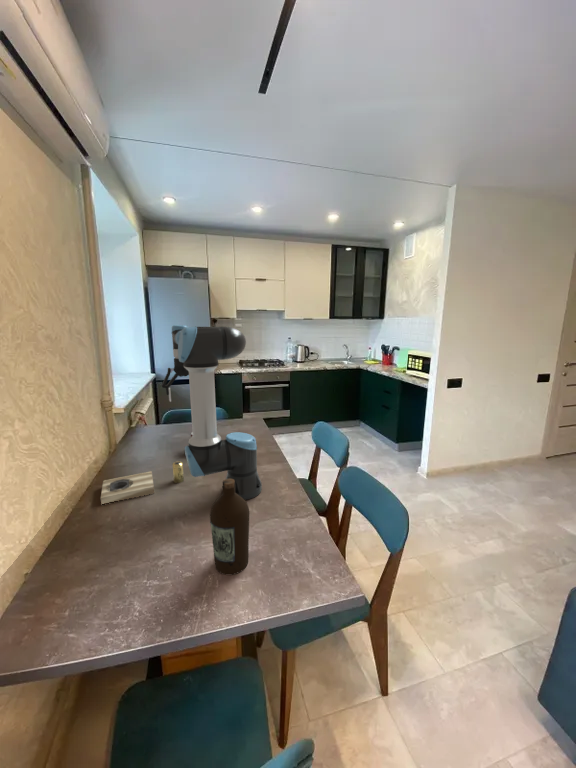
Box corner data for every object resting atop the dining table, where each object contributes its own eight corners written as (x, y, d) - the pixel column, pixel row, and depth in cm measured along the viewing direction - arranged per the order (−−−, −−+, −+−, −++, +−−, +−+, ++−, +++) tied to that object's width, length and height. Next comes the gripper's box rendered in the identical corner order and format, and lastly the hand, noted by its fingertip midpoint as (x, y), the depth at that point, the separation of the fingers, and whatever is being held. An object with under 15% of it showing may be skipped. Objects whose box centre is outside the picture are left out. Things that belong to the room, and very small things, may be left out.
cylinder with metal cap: (184, 481, 132) (183, 464, 130) (174, 484, 130) (173, 466, 128) (183, 477, 135) (181, 460, 133) (173, 479, 133) (172, 462, 132)
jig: (154, 493, 123) (153, 486, 122) (101, 505, 115) (100, 497, 114) (152, 477, 135) (151, 471, 134) (104, 487, 127) (103, 480, 127)
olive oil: (225, 544, 95) (222, 469, 90) (257, 554, 91) (255, 475, 86) (204, 570, 85) (199, 487, 80) (238, 582, 81) (235, 495, 76)
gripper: (206, 355, 161) (208, 395, 165) (153, 357, 150) (157, 400, 155) (209, 357, 154) (211, 398, 158) (154, 359, 144) (158, 404, 148)
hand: (184, 399), depth 156 cm, fingers open, 13 cm apart
